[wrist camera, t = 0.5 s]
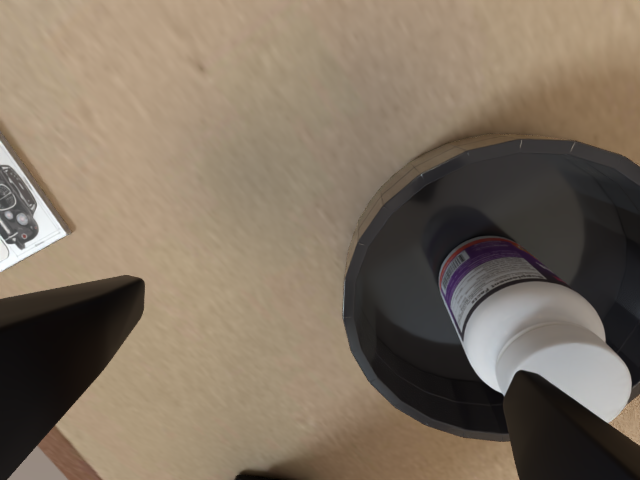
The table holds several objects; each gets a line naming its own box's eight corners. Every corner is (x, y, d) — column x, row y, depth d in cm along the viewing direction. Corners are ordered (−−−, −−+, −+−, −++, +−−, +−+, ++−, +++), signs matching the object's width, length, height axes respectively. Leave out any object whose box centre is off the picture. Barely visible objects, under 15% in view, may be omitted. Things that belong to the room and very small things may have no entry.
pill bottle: (542, 300, 22) (669, 434, 13) (452, 326, 23) (509, 466, 14) (519, 219, 21) (642, 303, 11) (424, 251, 22) (467, 350, 13)
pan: (591, 397, 24) (639, 457, 20) (341, 372, 26) (337, 423, 21) (675, 138, 19) (766, 146, 14) (354, 129, 20) (351, 133, 16)
